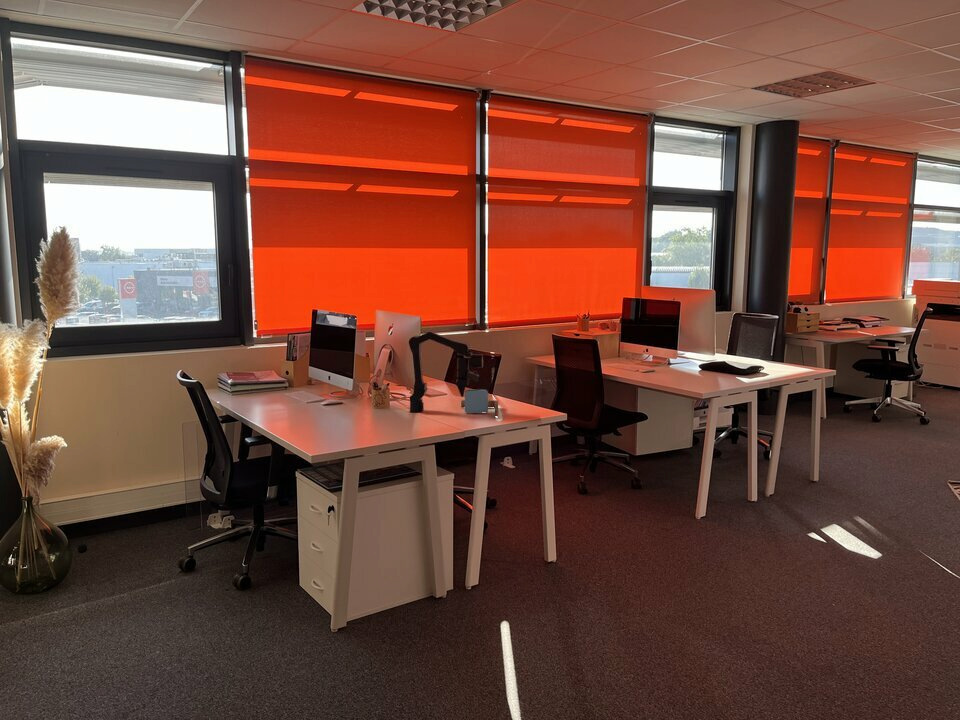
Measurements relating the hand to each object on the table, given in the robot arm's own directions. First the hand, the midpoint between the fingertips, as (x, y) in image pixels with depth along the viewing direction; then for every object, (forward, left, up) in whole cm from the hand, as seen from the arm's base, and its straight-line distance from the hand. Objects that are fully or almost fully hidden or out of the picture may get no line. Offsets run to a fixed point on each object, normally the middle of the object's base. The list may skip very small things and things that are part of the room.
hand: (462, 396), depth 364 cm
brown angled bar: (+9, +1, -9) cm, 12 cm away
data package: (+7, 0, -9) cm, 11 cm away
